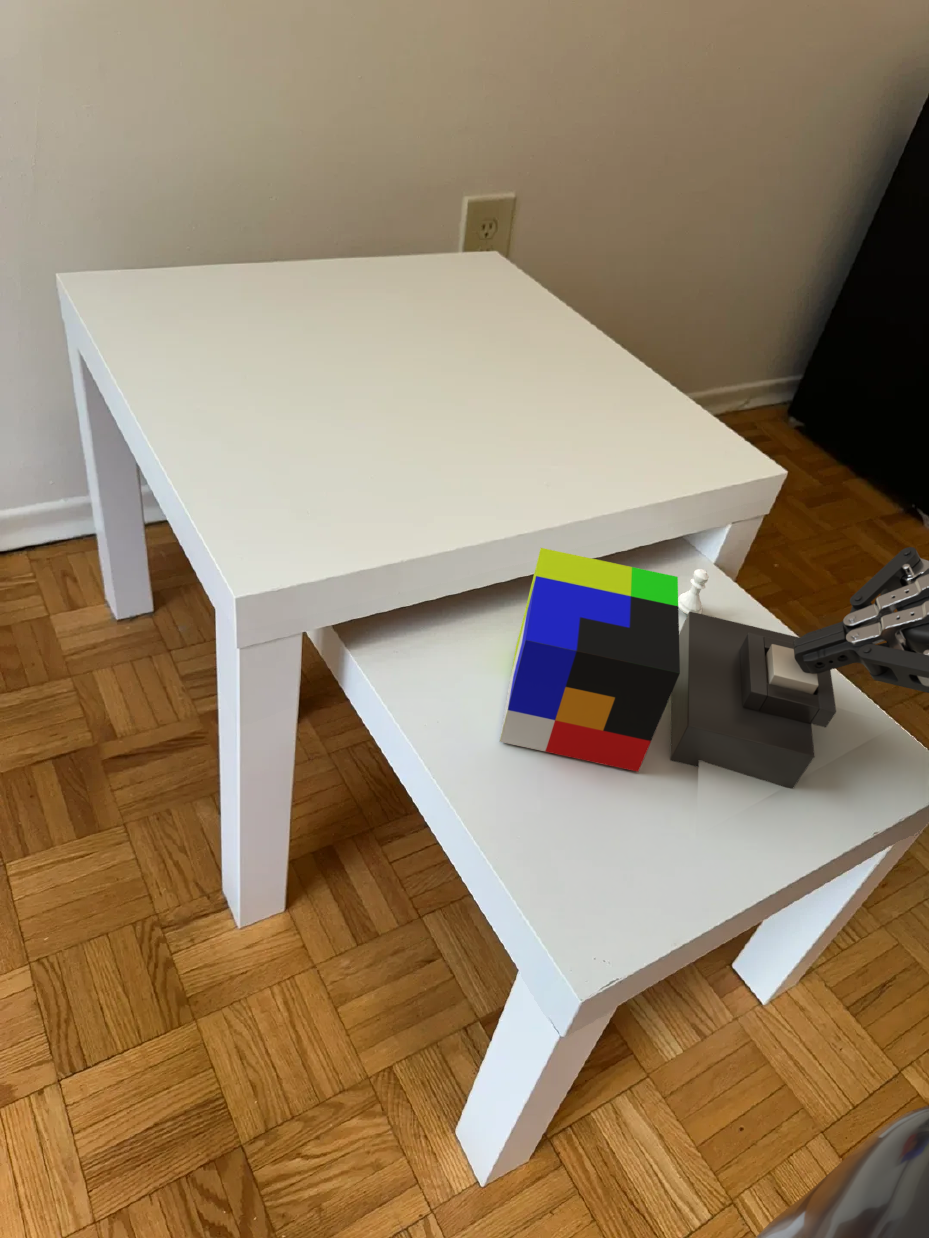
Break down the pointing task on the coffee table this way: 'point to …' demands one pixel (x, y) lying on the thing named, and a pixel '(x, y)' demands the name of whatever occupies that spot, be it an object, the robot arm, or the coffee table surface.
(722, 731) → the dark grey block
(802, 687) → the beige push button
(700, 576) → the chess pawn
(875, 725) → the coffee table surface
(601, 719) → the puzzle toy
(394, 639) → the coffee table surface
